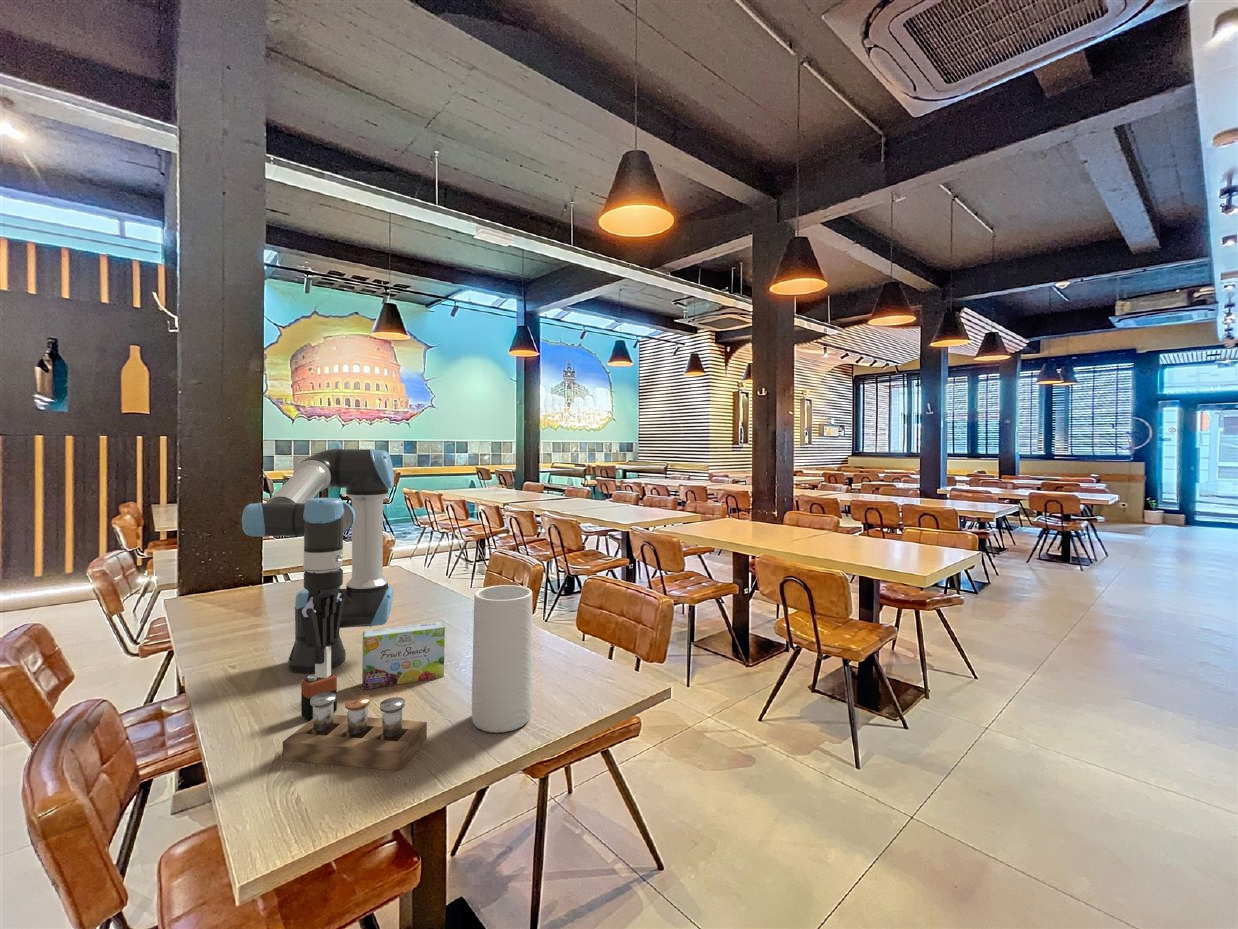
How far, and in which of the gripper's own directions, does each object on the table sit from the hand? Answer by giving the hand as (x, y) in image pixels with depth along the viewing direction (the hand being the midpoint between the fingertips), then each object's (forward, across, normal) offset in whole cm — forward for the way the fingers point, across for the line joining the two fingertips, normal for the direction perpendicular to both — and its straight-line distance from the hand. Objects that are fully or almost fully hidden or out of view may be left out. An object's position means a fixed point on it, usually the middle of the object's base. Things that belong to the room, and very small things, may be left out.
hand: (323, 676), depth 119 cm
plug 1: (+11, 0, 0) cm, 11 cm away
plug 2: (+12, 0, -16) cm, 20 cm away
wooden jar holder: (+16, 0, -8) cm, 18 cm away
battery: (+16, +14, +10) cm, 23 cm away
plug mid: (+11, 0, -8) cm, 14 cm away
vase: (+16, +18, -35) cm, 42 cm away
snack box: (+16, +34, -1) cm, 38 cm away
